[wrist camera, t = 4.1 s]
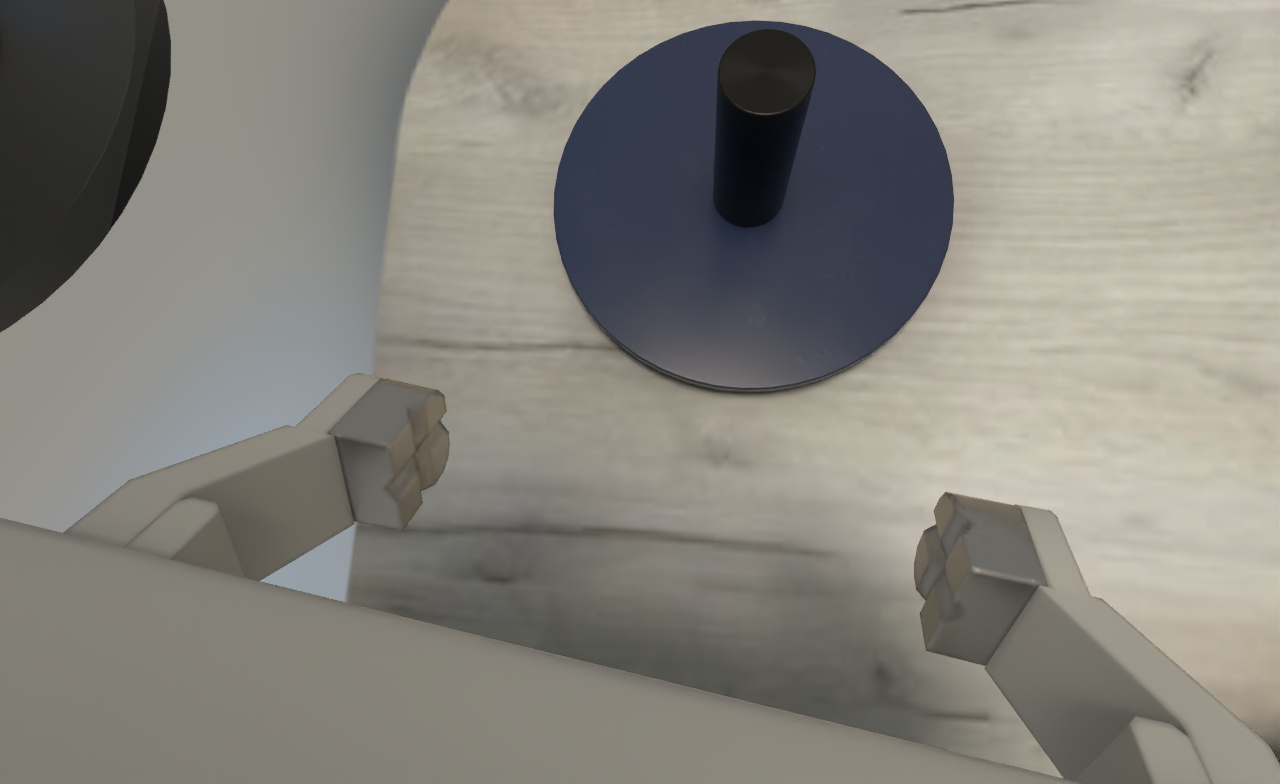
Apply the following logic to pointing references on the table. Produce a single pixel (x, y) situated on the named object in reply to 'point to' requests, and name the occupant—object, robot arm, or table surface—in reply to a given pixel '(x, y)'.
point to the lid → (753, 206)
